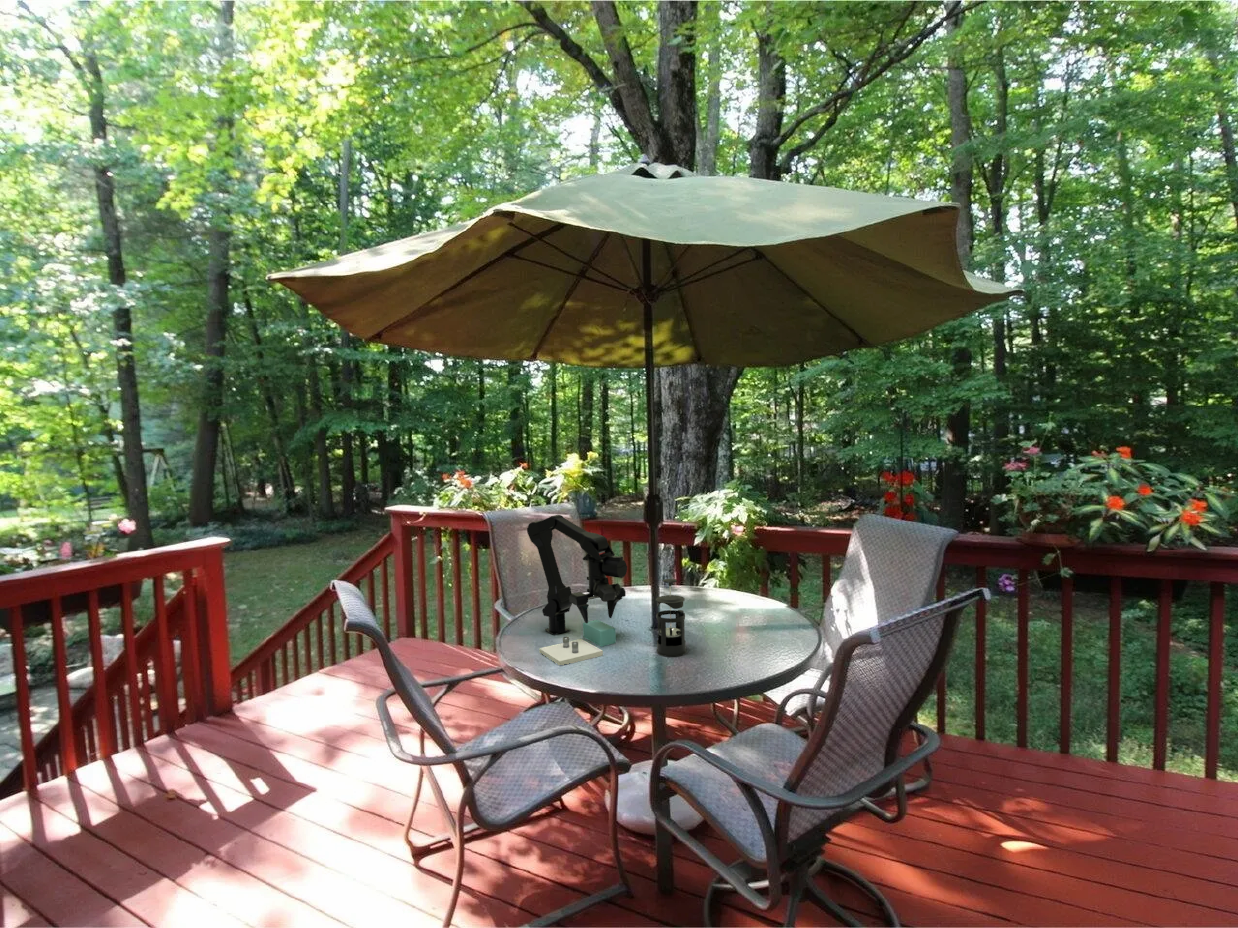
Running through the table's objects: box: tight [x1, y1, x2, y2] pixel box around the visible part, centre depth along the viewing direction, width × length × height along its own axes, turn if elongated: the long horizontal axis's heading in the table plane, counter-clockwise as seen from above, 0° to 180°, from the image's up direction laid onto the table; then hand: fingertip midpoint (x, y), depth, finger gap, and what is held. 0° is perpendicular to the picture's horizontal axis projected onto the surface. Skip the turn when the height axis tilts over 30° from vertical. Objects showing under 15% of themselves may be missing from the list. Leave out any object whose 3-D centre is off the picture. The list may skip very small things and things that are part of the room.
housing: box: [582, 619, 617, 648], centre depth 221 cm, size 6×12×5 cm, turn 32°
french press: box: [655, 578, 688, 658], centre depth 208 cm, size 12×9×23 cm
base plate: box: [539, 638, 604, 666], centre depth 208 cm, size 14×15×2 cm
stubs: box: [562, 636, 579, 653], centre depth 208 cm, size 8×2×3 cm, turn 32°
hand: (598, 620), depth 220 cm, fingers open, 9 cm apart
